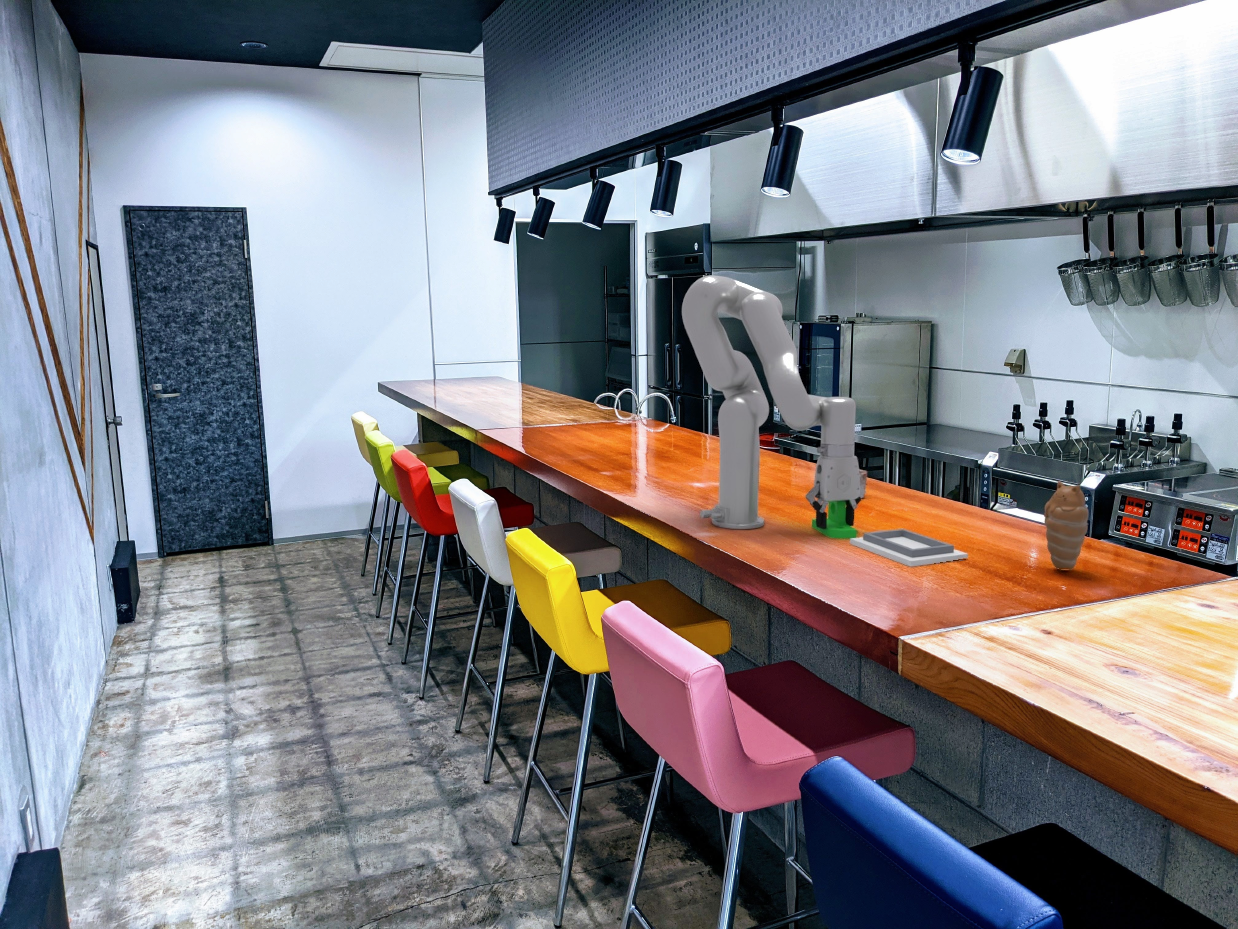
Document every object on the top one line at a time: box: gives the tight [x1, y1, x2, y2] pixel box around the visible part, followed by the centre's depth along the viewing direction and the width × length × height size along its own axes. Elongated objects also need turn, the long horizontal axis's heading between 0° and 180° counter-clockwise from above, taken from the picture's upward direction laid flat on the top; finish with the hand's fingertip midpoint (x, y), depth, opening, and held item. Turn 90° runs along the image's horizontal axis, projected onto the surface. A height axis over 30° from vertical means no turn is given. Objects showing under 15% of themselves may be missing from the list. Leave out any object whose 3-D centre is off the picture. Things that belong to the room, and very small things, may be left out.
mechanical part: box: [811, 501, 858, 540], centre depth 217 cm, size 12×6×8 cm, turn 10°
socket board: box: [849, 528, 969, 568], centre depth 201 cm, size 15×20×3 cm
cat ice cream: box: [1043, 480, 1089, 570], centre depth 185 cm, size 9×8×18 cm
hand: (834, 525), depth 217 cm, fingers closed on mechanical part, 6 cm apart
